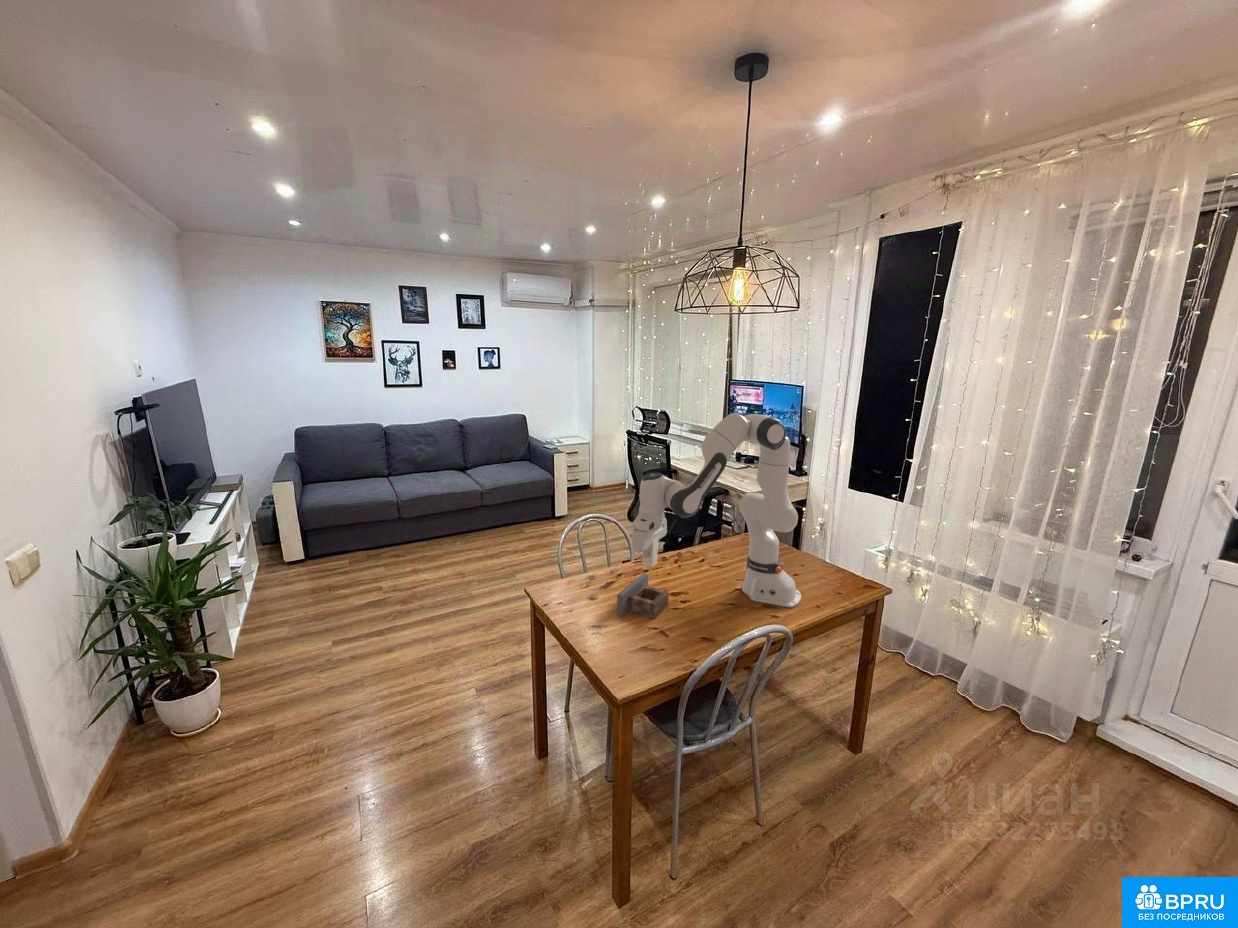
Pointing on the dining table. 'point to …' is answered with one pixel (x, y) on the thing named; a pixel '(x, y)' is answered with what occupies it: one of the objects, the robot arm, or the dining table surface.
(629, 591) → the wall
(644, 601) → the brown square open box
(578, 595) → the dining table surface
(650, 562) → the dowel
